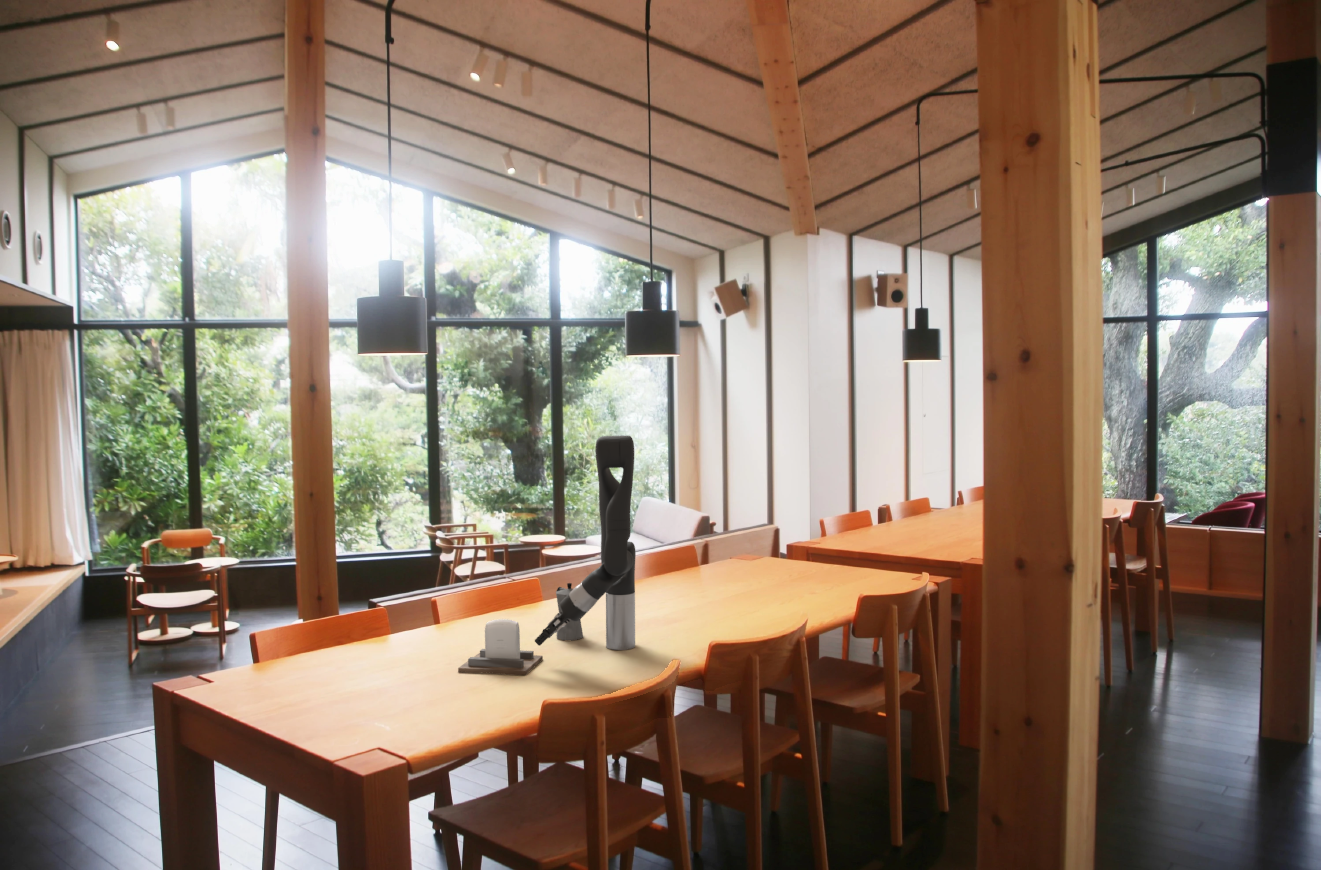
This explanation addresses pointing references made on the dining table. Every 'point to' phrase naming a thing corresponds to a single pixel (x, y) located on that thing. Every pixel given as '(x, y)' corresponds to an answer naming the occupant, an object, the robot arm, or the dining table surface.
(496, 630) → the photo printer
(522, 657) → the cradle
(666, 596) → the dining table surface
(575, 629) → the coffeepot
